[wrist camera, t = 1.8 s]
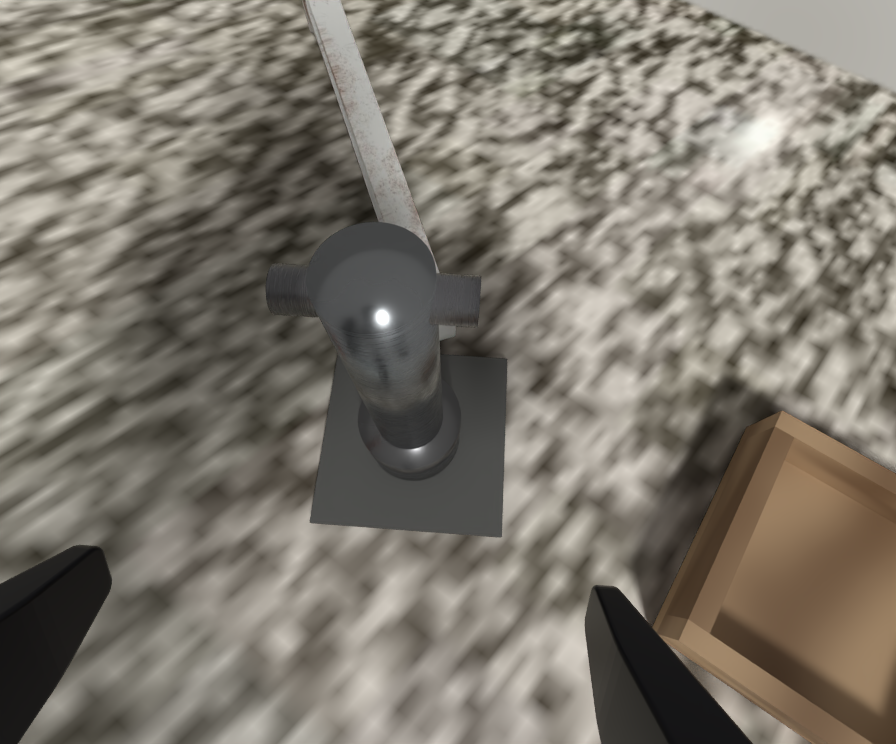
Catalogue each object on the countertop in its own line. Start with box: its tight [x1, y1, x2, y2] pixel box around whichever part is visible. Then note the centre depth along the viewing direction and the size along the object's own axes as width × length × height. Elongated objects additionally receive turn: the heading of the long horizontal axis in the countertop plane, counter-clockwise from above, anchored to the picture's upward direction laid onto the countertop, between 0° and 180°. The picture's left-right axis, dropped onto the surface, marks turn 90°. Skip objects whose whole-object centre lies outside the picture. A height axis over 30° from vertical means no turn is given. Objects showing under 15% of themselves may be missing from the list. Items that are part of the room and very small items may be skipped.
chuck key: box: [266, 222, 481, 481], centre depth 16 cm, size 4×4×13 cm
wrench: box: [302, 0, 456, 341], centre depth 27 cm, size 8×2×30 cm
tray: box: [652, 411, 896, 744], centre depth 19 cm, size 10×10×3 cm
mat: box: [310, 354, 507, 537], centre depth 22 cm, size 8×8×1 cm
